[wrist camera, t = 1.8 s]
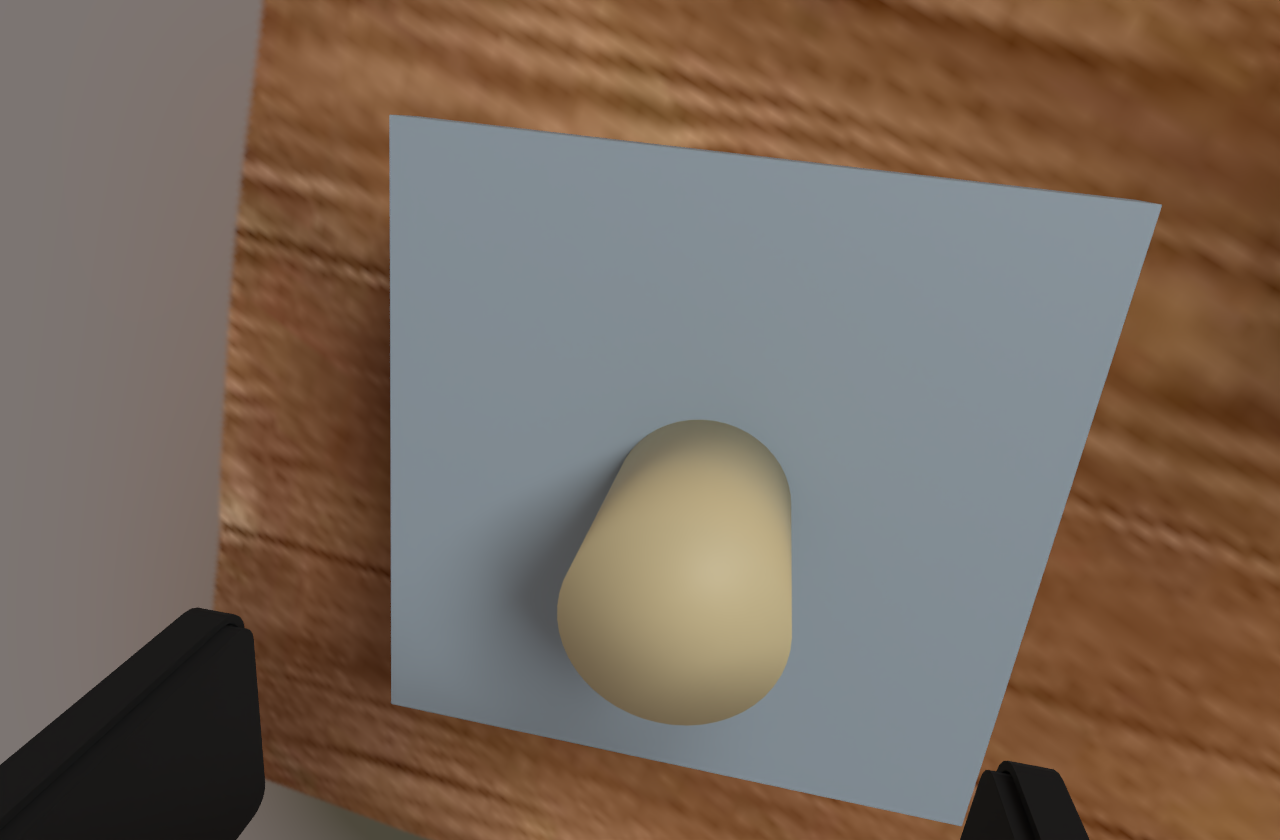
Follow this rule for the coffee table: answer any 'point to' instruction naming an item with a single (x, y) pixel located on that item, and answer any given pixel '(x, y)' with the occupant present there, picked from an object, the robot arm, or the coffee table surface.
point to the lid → (734, 448)
